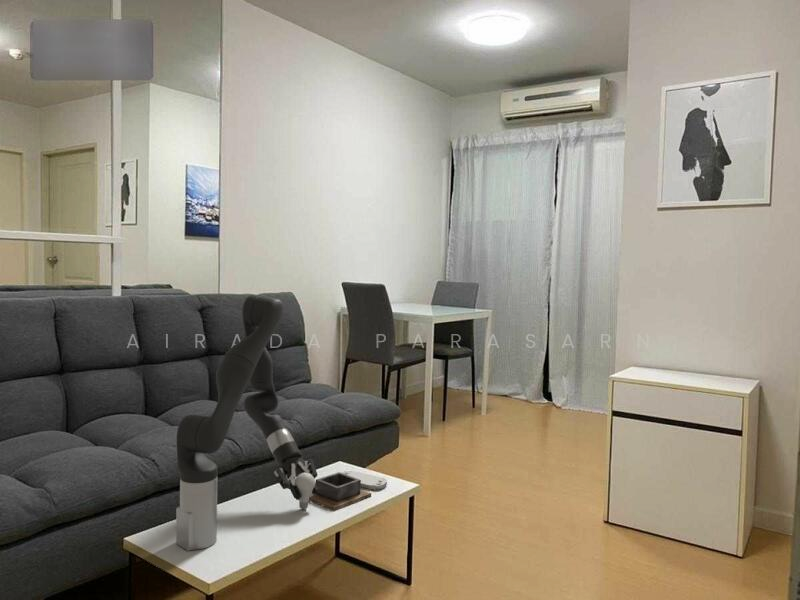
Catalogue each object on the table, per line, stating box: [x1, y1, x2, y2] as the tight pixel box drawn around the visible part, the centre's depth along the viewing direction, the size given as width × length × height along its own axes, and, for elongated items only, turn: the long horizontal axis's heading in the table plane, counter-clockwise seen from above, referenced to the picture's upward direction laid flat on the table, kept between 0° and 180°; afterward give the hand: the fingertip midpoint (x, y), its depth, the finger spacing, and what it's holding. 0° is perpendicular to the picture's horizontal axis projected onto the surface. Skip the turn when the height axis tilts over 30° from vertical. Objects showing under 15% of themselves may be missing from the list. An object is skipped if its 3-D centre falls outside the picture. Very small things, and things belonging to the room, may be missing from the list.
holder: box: [309, 472, 372, 511], centre depth 192 cm, size 16×14×6 cm
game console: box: [340, 470, 388, 491], centre depth 206 cm, size 18×2×8 cm
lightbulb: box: [295, 472, 316, 510], centre depth 182 cm, size 6×6×11 cm
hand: (307, 495), depth 180 cm, fingers closed on lightbulb, 5 cm apart
